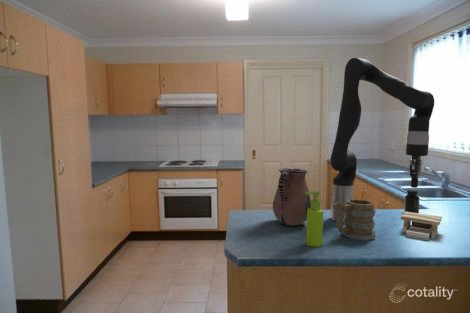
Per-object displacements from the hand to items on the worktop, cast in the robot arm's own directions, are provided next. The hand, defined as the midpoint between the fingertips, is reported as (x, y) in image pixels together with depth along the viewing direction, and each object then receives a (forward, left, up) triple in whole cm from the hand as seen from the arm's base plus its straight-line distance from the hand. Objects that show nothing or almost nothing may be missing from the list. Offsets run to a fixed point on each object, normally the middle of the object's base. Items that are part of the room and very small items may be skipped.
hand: (414, 187), depth 128 cm
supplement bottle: (+18, +45, -21) cm, 53 cm away
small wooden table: (+8, +11, -21) cm, 25 cm away
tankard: (-23, +1, -21) cm, 31 cm away
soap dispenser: (-40, -11, -21) cm, 46 cm away
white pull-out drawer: (+7, +8, -21) cm, 24 cm away
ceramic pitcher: (-47, +14, -21) cm, 53 cm away
